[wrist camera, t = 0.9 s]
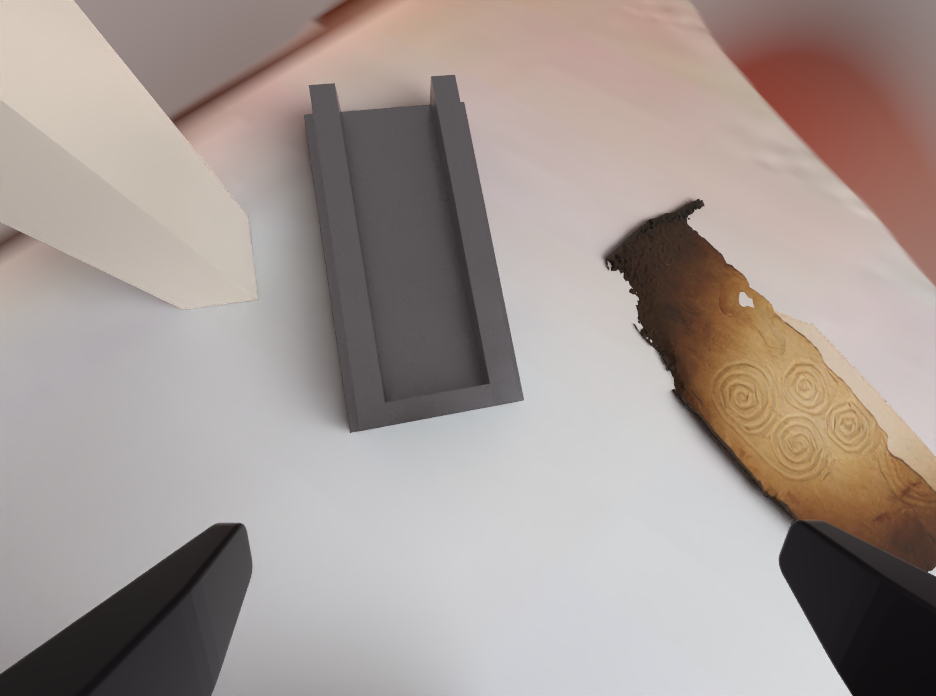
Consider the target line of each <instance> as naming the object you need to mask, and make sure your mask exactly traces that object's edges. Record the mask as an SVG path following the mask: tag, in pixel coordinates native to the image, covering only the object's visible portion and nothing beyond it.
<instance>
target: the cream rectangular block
mask: <svg viewBox="0 0 936 696" xmlns="http://www.w3.org/2000/svg"><path fill="white" fill-rule="evenodd" d="M0 222H1V223H3V224H6V225H8V226H10V227H12V228H14V229H16V230H18V231H20V232H22V233H24V234H26V235H28V236H31V237H33V238H35V239H37V240H39V241H41V242H43V243H45V244H47V245H49V246H51V247H53V248H56V249H58V250H60V251H62V252H64V253H66V254H68V255H70V256H72V257H74V258H76V259H78V260H81V261H83V262H85V263H87V264H89V265H91V266H93V267H95V268H97V269H99V270H101V271H103V272H106V273H108V274H110V275H112V276H114V277H116V278H118V279H120V280H122V281H124V282H126V283H128V284H131V285H133V286H135V287H137V288H139V289H141V290H143V291H145V292H147V293H149V294H151V295H153V296H156V297H158V298H160V299H162V300H164V301H166V302H168V303H170V304H172V305H174V306H176V307H178V308H181V309H183V310H187V309H194V308H201V307H208V306H216V305H223V304H230V303H237V302H244V301H252V300H258V293H257V285H256V276H255V268H254V260H253V251H252V243H251V235H250V226H249V218H248V215H247V214H246V213H245V211H244V210H243V209H242V208H241V206H240V205H239V204H238V203H237V201H236V200H235V199H234V198H233V197H232V195H231V194H230V193H229V192H228V190H227V189H226V188H225V187H224V185H223V184H222V183H221V182H220V180H219V179H218V178H217V177H216V176H215V174H214V173H213V172H212V171H211V169H210V168H209V167H208V166H207V164H206V163H205V162H204V161H203V160H202V158H201V157H200V156H199V155H198V153H197V152H196V151H195V150H194V148H193V147H192V146H191V145H190V143H189V142H188V141H187V140H186V139H185V137H184V136H183V135H182V134H181V132H180V131H179V130H178V129H177V127H176V126H175V125H174V124H173V123H172V121H171V120H170V119H169V118H168V116H167V115H166V114H165V113H164V111H163V110H162V109H161V108H160V106H159V105H158V104H157V103H156V102H155V100H154V99H153V98H152V97H151V95H150V94H149V93H148V92H147V91H146V89H145V88H144V87H143V86H142V84H141V83H140V82H139V81H138V80H137V78H136V77H135V76H134V75H133V73H132V72H131V71H130V69H129V68H128V67H127V66H126V65H125V63H124V62H123V61H122V60H121V58H120V57H119V56H118V55H117V54H116V52H115V51H114V50H113V49H112V47H111V46H110V45H109V44H108V42H107V41H106V40H105V39H104V37H103V36H102V35H101V34H100V32H99V31H98V30H97V29H96V28H95V26H94V25H93V24H92V23H91V21H90V20H89V19H88V18H87V16H86V15H85V14H84V13H83V11H82V10H81V9H80V8H79V7H78V5H77V4H76V3H75V2H74V0H0Z"/></svg>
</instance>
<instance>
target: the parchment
mask: <svg viewBox="0 0 936 696" xmlns="http://www.w3.org/2000/svg"><path fill="white" fill-rule="evenodd" d="M702 206H704V203H703V201H702V200H701V201H700V200H699V199H697V200H696V201H694V202H691V203H690V204H688V205H685V206H684V207H683V208H681V209H679V210H678V211H676V212H674V213H665V214H664V215H662V216H661V217H658V218H655V219H650V220H648V221H647V222H646V224H645V225H643V226H642V227H640V228H639V229H637V230H636V231H635V232H634V233H633V234H632V235H631V236H630V237H629V238H628V239H627V240H626V241H625V242H624V243H623V244H622V245H621V246H620V247H619V248H618V249H617V250H616V251H615V252H614V253H612V254H611V255H610V256H609V257H608V258H607V259H606V261H607V260H608V261H609V262H611V265H612V266H613V267H611V271H616V270H617V269H619V271H620V273H623V272H624V279H625V281H629V284H630V286H631V287H632V288H633V289H632V288H631V289H630V290H629V292H630V293H632V294H635V295H637V296H638V298H639V301H638V300H637V301H638V305H636V307H637V310H638V320H639V321H638V323H640V322H641V325H642V326H643V329H642V330H641V332H640V333H641V334H642V335H643V337H644V339H646V337H648V339H647V340H648V342H649V343H650V344H651V345H652V346H653V347H655V348H656V350H658V351H659V352H661V353H662V354H663V355H664V357H663V358H664V360H665V362H666V364H667V365H668V367H669V370H670V371H671V373H672V376H673V377H674V386H675V388H676V390H675V389H673V391H674V392H675V393H676V394H677V395H679V396H680V398H681V400H682V401H683V402H684V403H685V404H686V406H688V407H689V408H690V409H692V410H693V411H694V413H696V414H698V415H699V416H700V417H701V419H702V421H703V422H704V423H705V424H706V425H707V426H708V429H709V430H710V431H711V432H712V434H713V435H714V436H715V437H716V438H717V439H718V440H719V442H721V443H722V444H723V445H724V446H725V448H726V449H727V450H728V451H729V453H730V454H731V455H732V456H733V457H734V459H735V460H736V461H737V462H738V463H739V465H740V466H741V467H743V468H744V469H745V470H746V471H747V473H748V474H749V475H750V476H751V477H752V479H753V480H754V481H755V482H756V483H757V484H759V487H760V488H761V490H762V493H763V494H764V496H765V497H768V498H770V499H771V500H773V501H775V502H778V503H779V504H781V505H782V506H783V507H784V509H785V510H786V512H788V513H789V514H790V515H791V516H792V517H793V518H794V519H796V520H821V521H825V522H827V523H829V524H831V525H833V526H835V527H837V528H839V529H841V530H843V531H845V532H847V533H849V534H851V535H853V536H855V537H857V538H859V539H861V540H863V541H865V542H867V543H869V544H871V545H873V546H875V547H877V548H879V549H881V550H883V551H885V552H887V553H889V554H891V555H893V556H895V557H897V558H899V559H901V560H903V561H906V562H908V563H910V564H912V565H914V566H916V567H918V568H920V569H922V570H924V571H926V572H928V571H932V570H933V569H934V568H935V567H936V457H935V455H934V454H933V453H932V452H931V451H930V450H929V449H928V448H927V447H926V445H925V444H924V443H923V442H922V441H921V440H920V439H919V437H918V436H917V435H916V434H915V433H914V432H913V431H912V430H911V429H910V428H909V426H908V425H907V424H906V423H905V422H904V421H903V420H902V419H901V418H900V417H899V416H898V414H897V413H896V412H895V411H894V410H893V409H892V408H891V406H890V405H888V404H887V402H886V401H885V400H884V399H883V398H882V397H881V396H880V395H879V394H878V392H877V391H876V390H875V389H874V388H873V387H872V386H871V385H870V384H869V383H868V382H867V380H866V379H865V378H863V377H862V376H861V375H860V373H859V372H858V371H857V370H856V369H855V368H854V367H853V366H852V365H851V364H850V362H849V361H848V360H847V359H846V358H845V357H844V356H843V355H842V354H841V353H840V352H839V351H838V350H837V349H836V348H835V347H834V345H833V344H831V343H830V342H829V340H828V339H827V338H826V337H825V336H824V335H823V334H822V333H821V332H820V331H818V329H817V328H816V327H815V326H814V325H813V324H808V323H807V322H803V321H800V320H797V319H794V318H792V317H789V316H787V315H785V314H782V313H779V312H777V311H774V309H773V307H772V305H771V304H770V303H769V302H768V301H767V300H766V299H765V298H764V297H763V296H762V295H760V294H759V293H757V292H756V291H755V290H753V289H751V288H750V287H749V283H748V281H747V279H746V278H745V276H744V275H743V274H742V273H740V272H739V271H738V270H736V269H735V268H734V267H733V266H732V265H730V264H727V263H726V261H725V260H724V258H723V256H722V254H721V253H719V252H718V251H717V250H716V249H715V248H714V247H713V246H712V245H711V244H710V243H709V242H708V241H707V240H706V239H705V238H702V237H701V236H700V235H699V234H698V232H697V231H695V230H693V229H692V228H691V227H690V226H689V225H688V224H687V217H688V215H690V214H693V212H694V209H695V210H696V209H697V208H698V209H700V208H701V207H702ZM688 219H690V218H688ZM607 267H608V263H607ZM608 269H609V267H608ZM636 292H637V293H636ZM740 292H745V293H746V295H747V296H748V297H749V298H752V299H753V304H754V308H755V309H754V308H752V307H749V306H746V307H742V306H741V305H740V304H739V293H740ZM634 325H635V324H634ZM635 326H636V325H635ZM636 328H637V327H636ZM637 330H638V329H637ZM638 331H639V330H638ZM650 339H651V340H652V343H651V342H650Z"/></svg>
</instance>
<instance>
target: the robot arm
mask: <svg viewBox="0 0 936 696" xmlns="http://www.w3.org/2000/svg"><path fill="white" fill-rule="evenodd" d="M779 566H780V569H781V572H782V574H783V576H784V578H785V579H786V581H787V583H788V585H789V587H790V588H791V590H792V592H793V594H794V596H795V597H796V599H797V601H798V603H799V605H800V606H801V608H802V610H803V612H804V614H805V615H806V617H807V619H808V621H809V623H810V624H811V626H812V628H813V630H814V632H815V633H816V635H817V637H818V639H819V641H820V642H821V644H822V646H823V648H824V650H825V651H826V653H827V655H828V657H829V658H830V660H831V662H832V664H833V665H834V667H835V669H836V670H837V672H838V674H839V675H840V677H841V678H842V680H843V682H844V683H845V685H846V686H847V688H848V689H849V691H850V692H851V694H852V696H936V576H934V575H932V574H930V573H928V572H926V571H924V570H922V569H920V568H918V567H916V566H914V565H912V564H910V563H908V562H906V561H903V560H901V559H899V558H897V557H895V556H893V555H891V554H889V553H887V552H885V551H883V550H881V549H879V548H877V547H875V546H873V545H871V544H869V543H867V542H865V541H863V540H861V539H859V538H857V537H855V536H853V535H851V534H849V533H847V532H845V531H843V530H841V529H839V528H837V527H835V526H833V525H831V524H829V523H827V522H825V521H821V520H796V521H794V522H793V523H792V524H791V526H790V528H789V530H788V533H787V536H786V538H785V541H784V544H783V547H782V549H781V552H780V555H779ZM251 574H252V557H251V552H250V546H249V540H248V535H247V530H246V527H245V526H244V525H243V524H241V523H217V524H214V525H213V526H211V527H209V528H208V529H206V530H205V531H204V532H202V533H201V534H199V535H198V536H196V537H195V538H194V539H192V540H191V541H189V542H188V543H186V544H185V545H184V546H182V547H181V548H179V549H178V550H177V551H175V552H174V553H172V554H171V555H169V556H168V557H167V558H165V559H164V560H162V561H161V562H159V563H158V564H157V565H155V566H154V567H152V568H151V569H149V570H148V571H147V572H145V573H144V574H142V575H141V576H139V577H138V578H137V579H135V580H134V581H132V582H131V583H129V584H128V585H127V586H125V587H124V588H122V589H121V590H119V591H118V592H117V593H115V594H114V595H112V596H111V597H109V598H108V599H107V600H105V601H104V602H102V603H101V604H100V605H98V606H97V607H95V608H94V609H92V610H91V611H90V612H88V613H87V614H85V615H84V616H82V617H81V618H80V619H78V620H77V621H75V622H74V623H72V624H71V625H70V626H68V627H67V628H65V629H64V630H62V631H61V632H60V633H58V634H57V635H55V636H54V637H52V638H51V639H50V640H48V641H47V642H45V643H44V644H42V645H41V646H40V647H38V648H37V649H35V650H34V651H32V652H31V653H30V654H28V655H27V656H25V657H24V658H23V659H21V660H20V661H18V662H17V663H15V664H14V665H13V666H11V667H10V668H8V669H7V670H5V671H4V672H3V673H1V674H0V696H211V695H212V692H213V690H214V687H215V684H216V682H217V679H218V676H219V673H220V670H221V667H222V664H223V661H224V658H225V655H226V652H227V649H228V646H229V643H230V640H231V637H232V634H233V631H234V628H235V625H236V622H237V618H238V615H239V612H240V609H241V606H242V603H243V600H244V597H245V594H246V591H247V588H248V585H249V582H250V579H251Z"/></svg>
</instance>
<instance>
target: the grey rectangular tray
mask: <svg viewBox="0 0 936 696" xmlns="http://www.w3.org/2000/svg"><path fill="white" fill-rule="evenodd" d="M309 89H310V96H311V103H312V109H313V114H311V115H304V118H305V125H306V132H307V139H308V146H309V153H310V159H311V166H312V173H313V180H314V187H315V194H316V201H317V208H318V215H319V222H320V229H321V236H322V242H323V249H324V256H325V263H326V270H327V277H328V284H329V291H330V298H331V305H332V312H333V319H334V325H335V332H336V339H337V346H338V353H339V360H340V367H341V374H342V381H343V388H344V395H345V402H346V408H347V415H348V422H349V429H350V433H352V432H357V431H362V430H368V429H373V428H379V427H384V426H389V425H395V424H400V423H405V422H411V421H416V420H421V419H427V418H432V417H437V416H443V415H448V414H454V413H459V412H464V411H470V410H475V409H480V408H486V407H491V406H496V405H502V404H507V403H512V402H518V401H523V400H524V398H523V393H522V388H521V383H520V378H519V373H518V368H517V363H516V358H515V353H514V348H513V343H512V338H511V333H510V328H509V323H508V318H507V313H506V308H505V303H504V298H503V293H502V288H501V283H500V278H499V273H498V268H497V264H496V259H495V254H494V249H493V244H492V239H491V234H490V229H489V224H488V219H487V214H486V209H485V204H484V199H483V194H482V189H481V184H480V179H479V174H478V169H477V164H476V159H475V154H474V149H473V144H472V139H471V134H470V129H469V124H468V119H467V114H466V109H465V104H464V102H460V98H459V93H458V88H457V83H456V78H455V75H446V76H432V77H431V89H430V105H422V106H409V107H397V108H385V109H372V110H360V111H348V112H341V109H340V104H339V100H338V96H337V92H336V87H335V83H334V84H320V85H309Z"/></svg>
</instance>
